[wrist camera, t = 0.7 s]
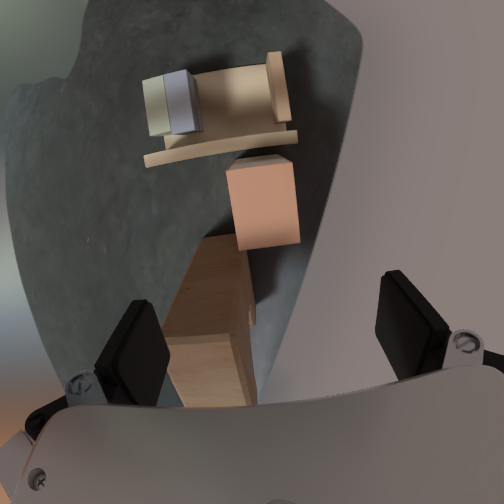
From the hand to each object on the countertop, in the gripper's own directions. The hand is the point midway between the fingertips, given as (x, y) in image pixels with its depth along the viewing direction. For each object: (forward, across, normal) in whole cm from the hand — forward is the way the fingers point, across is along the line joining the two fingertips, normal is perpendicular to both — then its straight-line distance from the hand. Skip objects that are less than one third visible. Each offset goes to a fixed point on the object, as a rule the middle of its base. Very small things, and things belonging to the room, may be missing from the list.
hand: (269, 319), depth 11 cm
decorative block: (+24, +5, +10) cm, 27 cm away
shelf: (+25, +3, -11) cm, 27 cm away
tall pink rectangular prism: (+24, 0, -1) cm, 25 cm away
